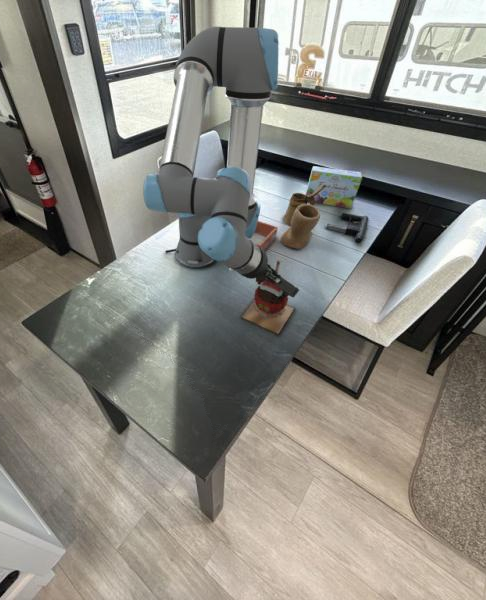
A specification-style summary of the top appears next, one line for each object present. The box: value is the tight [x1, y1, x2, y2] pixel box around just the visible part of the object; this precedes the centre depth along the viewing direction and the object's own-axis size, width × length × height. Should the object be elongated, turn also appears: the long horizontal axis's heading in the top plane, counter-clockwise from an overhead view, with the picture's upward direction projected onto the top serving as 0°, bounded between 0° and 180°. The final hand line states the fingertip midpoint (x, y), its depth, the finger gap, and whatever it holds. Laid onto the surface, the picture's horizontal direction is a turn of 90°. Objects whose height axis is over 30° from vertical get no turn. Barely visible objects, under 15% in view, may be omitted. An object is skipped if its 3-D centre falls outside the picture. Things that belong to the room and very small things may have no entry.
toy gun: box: [325, 212, 370, 244], centre depth 131 cm, size 3×20×16 cm
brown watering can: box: [282, 184, 326, 226], centre depth 129 cm, size 9×14×18 cm, turn 63°
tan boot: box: [280, 203, 321, 250], centre depth 120 cm, size 15×12×15 cm
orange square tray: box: [254, 220, 279, 252], centre depth 122 cm, size 14×16×5 cm
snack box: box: [305, 165, 363, 209], centre depth 143 cm, size 21×6×15 cm, turn 73°
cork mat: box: [241, 302, 295, 335], centre depth 96 cm, size 12×12×1 cm
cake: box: [252, 259, 291, 318], centre depth 89 cm, size 11×9×18 cm
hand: (281, 283), depth 90 cm, fingers closed on cake, 10 cm apart
